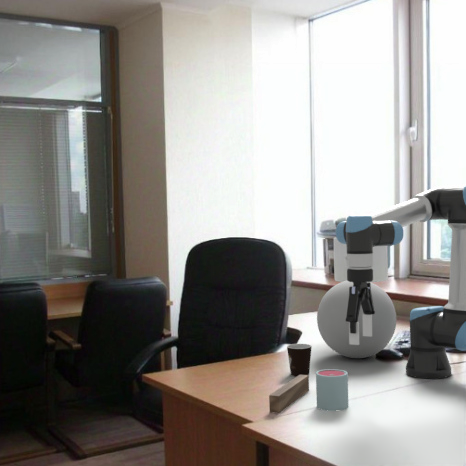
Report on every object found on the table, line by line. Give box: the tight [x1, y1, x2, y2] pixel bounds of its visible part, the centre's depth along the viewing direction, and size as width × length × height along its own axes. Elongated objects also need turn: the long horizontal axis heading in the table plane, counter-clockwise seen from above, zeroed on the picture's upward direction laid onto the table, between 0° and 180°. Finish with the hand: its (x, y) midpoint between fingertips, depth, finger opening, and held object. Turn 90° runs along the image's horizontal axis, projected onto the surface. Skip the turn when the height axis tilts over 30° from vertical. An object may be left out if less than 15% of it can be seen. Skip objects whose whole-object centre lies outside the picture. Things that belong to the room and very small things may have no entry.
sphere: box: [316, 281, 397, 359], centre depth 274 cm, size 30×30×30 cm
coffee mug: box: [286, 343, 312, 377], centre depth 251 cm, size 12×9×10 cm
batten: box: [268, 374, 310, 414], centre depth 217 cm, size 3×26×5 cm, turn 155°
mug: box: [315, 368, 349, 412], centre depth 212 cm, size 14×9×10 cm
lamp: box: [333, 236, 389, 283], centre depth 307 cm, size 23×23×44 cm
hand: (361, 340), depth 209 cm, fingers open, 13 cm apart
